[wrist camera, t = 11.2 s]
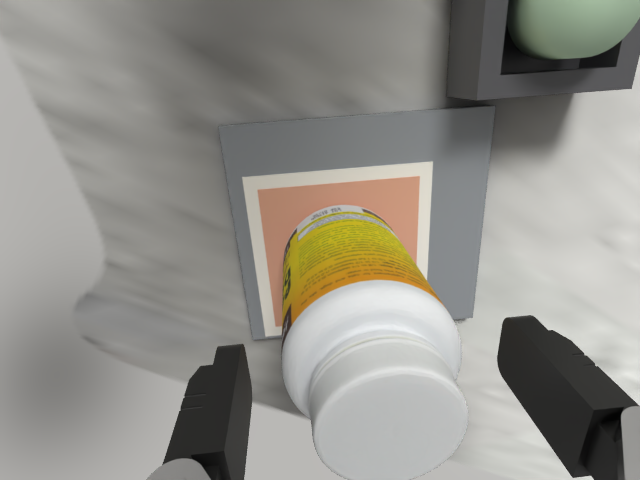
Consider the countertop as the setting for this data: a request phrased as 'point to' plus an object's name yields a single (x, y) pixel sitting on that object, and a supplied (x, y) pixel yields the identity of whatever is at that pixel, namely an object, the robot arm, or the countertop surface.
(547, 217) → the countertop surface
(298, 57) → the countertop surface
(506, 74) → the button housing
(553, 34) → the button
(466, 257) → the picture board
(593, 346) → the countertop surface
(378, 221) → the supplement bottle
